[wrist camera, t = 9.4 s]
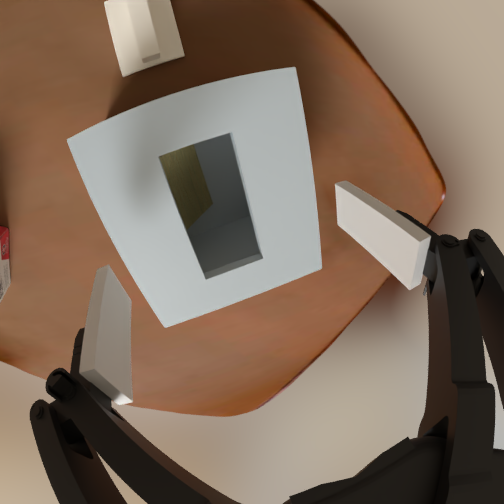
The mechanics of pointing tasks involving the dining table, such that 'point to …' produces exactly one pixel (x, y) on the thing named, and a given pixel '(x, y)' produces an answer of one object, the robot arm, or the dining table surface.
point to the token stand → (143, 33)
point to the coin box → (220, 188)
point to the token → (187, 183)
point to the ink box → (4, 261)
